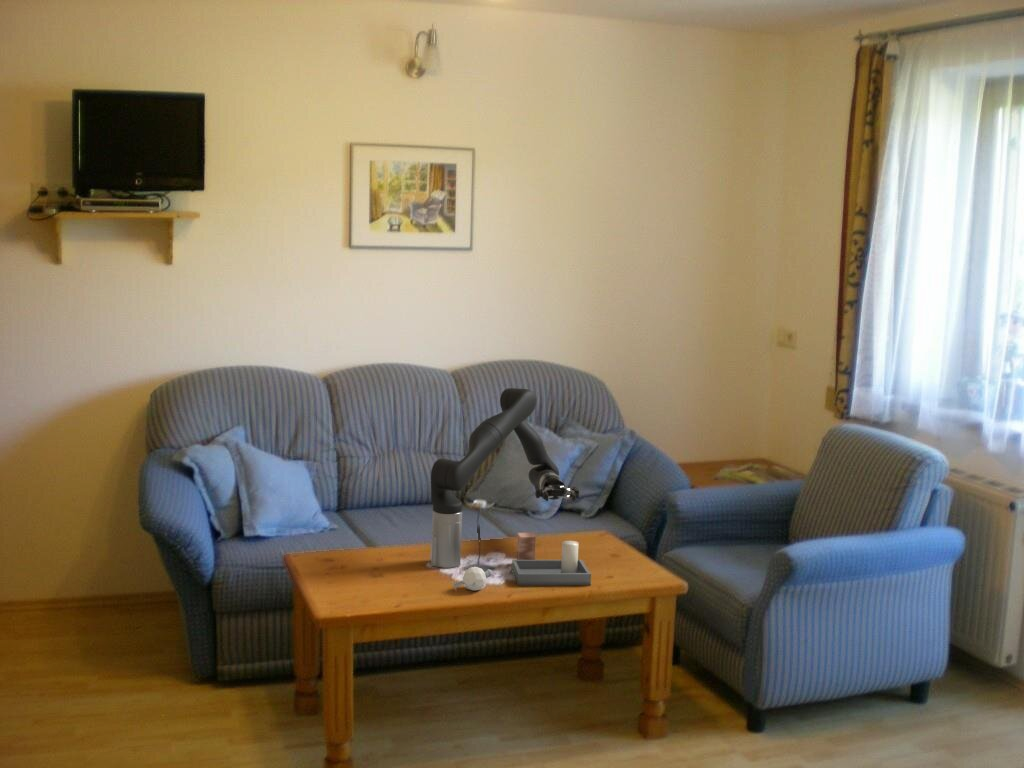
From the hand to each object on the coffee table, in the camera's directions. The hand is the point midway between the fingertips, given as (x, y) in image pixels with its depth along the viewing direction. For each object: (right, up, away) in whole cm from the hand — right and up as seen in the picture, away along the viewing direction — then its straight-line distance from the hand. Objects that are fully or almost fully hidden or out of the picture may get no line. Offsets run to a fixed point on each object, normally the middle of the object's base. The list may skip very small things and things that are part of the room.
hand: (560, 498), depth 354 cm
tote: (-4, -23, -18) cm, 29 cm away
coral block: (-11, -21, -7) cm, 24 cm away
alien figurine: (-27, -24, -31) cm, 48 cm away
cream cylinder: (+2, -22, -17) cm, 28 cm away
